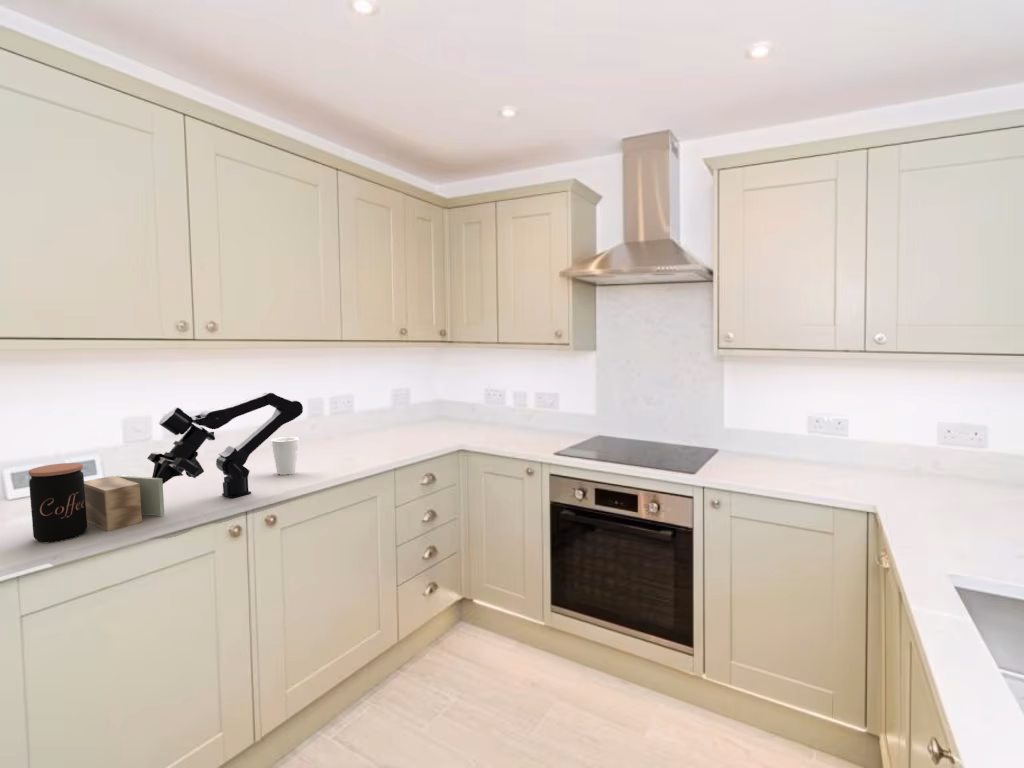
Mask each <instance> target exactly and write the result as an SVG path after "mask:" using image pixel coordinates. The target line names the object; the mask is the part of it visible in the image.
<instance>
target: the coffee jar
mask: <svg viewBox="0 0 1024 768" xmlns="http://www.w3.org/2000/svg"><path fill="white" fill-rule="evenodd" d="M83 465H84V464H83V463H80V462H66V463H65V462H64V463H53V464H47V465H41V466H37V467H34V468H31V469H29V470H28V472H27V473H28V475H29V476H30V479H29V482H28V484H29V485H28V486H29V497H30V498H29V499H30V509H31V511H30V512H31V522H32V536H33V538H34V539H35V540H36V541H38V542H39V543H43V542H48V543H56V542H55V541H58V542H62V541H61V540H63V541H66V539H68V540H71V539H70V538H72V539H74V537H75V538H77V537H79V535H80V536H81V534H82V535H83V534H84V533H85V531H86V530H87V528H88V522H87V516H86V503H85V489H84V481H85V479H84V478H85V477H84V472H82V469H83V468H84V467H83ZM76 536H77V537H76Z"/></svg>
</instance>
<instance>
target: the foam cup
mask: <svg viewBox="0 0 1024 768" xmlns="http://www.w3.org/2000/svg"><path fill="white" fill-rule="evenodd" d="M299 443H300V439H299V437H297V436H284V437H276V438H271V444H270V445H271V448H272V453H273V459H274V462H275V463H274V464H275V468H276V474H277V475H278V474H280V475H279V476H288V475H287V474H289V475H293V474H295V473H296V471H297V470H296V469H297V461H298V460H297V459H298V449H299Z"/></svg>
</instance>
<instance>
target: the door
mask: <svg viewBox="0 0 1024 768" xmlns="http://www.w3.org/2000/svg"><path fill="white" fill-rule="evenodd" d="M115 476H116V477H119V478H122V479H126V480H129V481H132V482H136V483H139V484H140V499H141V515H147V516H161V517H162V516H164V515H165V499H164V486H163V485H164V484H163V481H162V478H152V477H149V476H148V477H147V476H134V475H133V476H132V475H122V474H117V475H115Z"/></svg>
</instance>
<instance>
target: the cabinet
mask: <svg viewBox="0 0 1024 768" xmlns="http://www.w3.org/2000/svg"><path fill="white" fill-rule="evenodd" d="M84 489H85V503H86V516H87V523H88V522H89V523H88V524H90V523H91V524H90V525H92V524H93V525H92V526H95V525H96V526H95V527H97V526H98V527H97V528H99V527H100V529H102V530H104V531H106V530H107V532H111V531H115V530H118V529H123V528H126V527H129V526H134V525H136V524H141V523H142V522H143V518H142V515H143V514H141V499H140V484H139V483H136V482H132V481H129V480H126V479H122V478H119V477H116V475H111V476H106V477H101V478H99V477H98V478H94V479H90V480H84ZM122 527H123V528H122Z"/></svg>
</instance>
